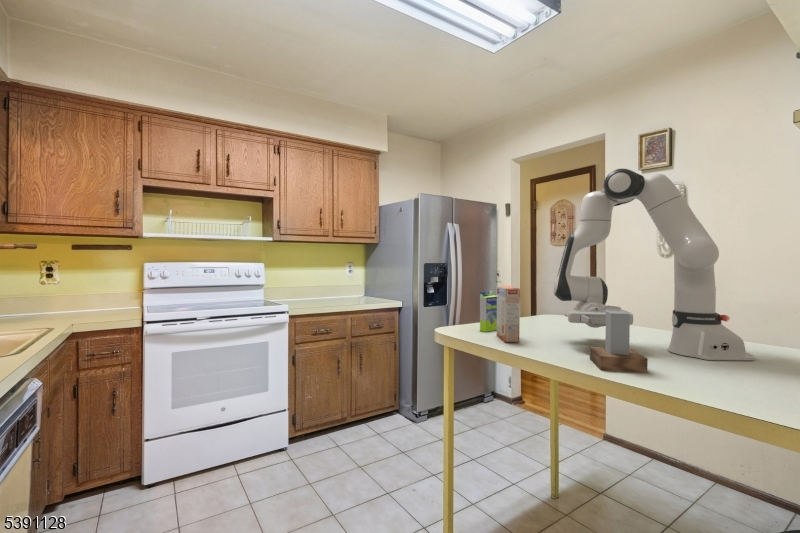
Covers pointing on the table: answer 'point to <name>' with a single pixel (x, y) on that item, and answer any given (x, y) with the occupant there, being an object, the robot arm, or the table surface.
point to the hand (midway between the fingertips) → (605, 321)
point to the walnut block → (618, 360)
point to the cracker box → (508, 313)
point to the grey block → (617, 332)
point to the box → (488, 311)
